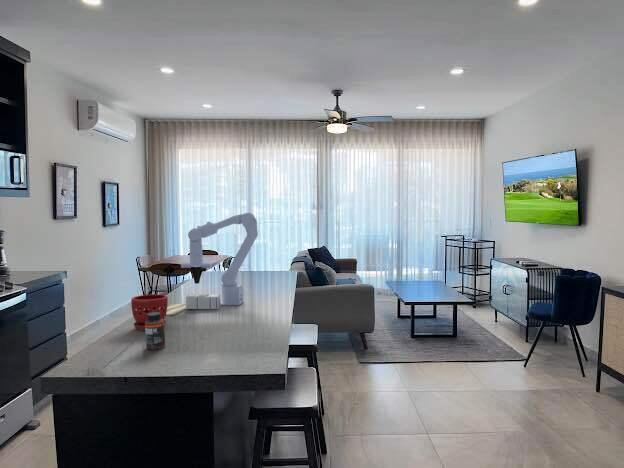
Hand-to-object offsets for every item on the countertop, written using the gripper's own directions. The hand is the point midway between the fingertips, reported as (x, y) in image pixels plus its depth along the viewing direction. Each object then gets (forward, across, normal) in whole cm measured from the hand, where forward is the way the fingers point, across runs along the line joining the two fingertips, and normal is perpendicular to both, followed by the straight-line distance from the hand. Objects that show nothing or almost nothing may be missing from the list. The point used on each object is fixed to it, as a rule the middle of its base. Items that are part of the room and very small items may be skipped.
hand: (197, 283), depth 212 cm
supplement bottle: (+11, +14, -62) cm, 64 cm away
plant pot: (+11, -2, -38) cm, 39 cm away
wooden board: (+11, -8, -10) cm, 16 cm away
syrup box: (+7, -1, -8) cm, 11 cm away
